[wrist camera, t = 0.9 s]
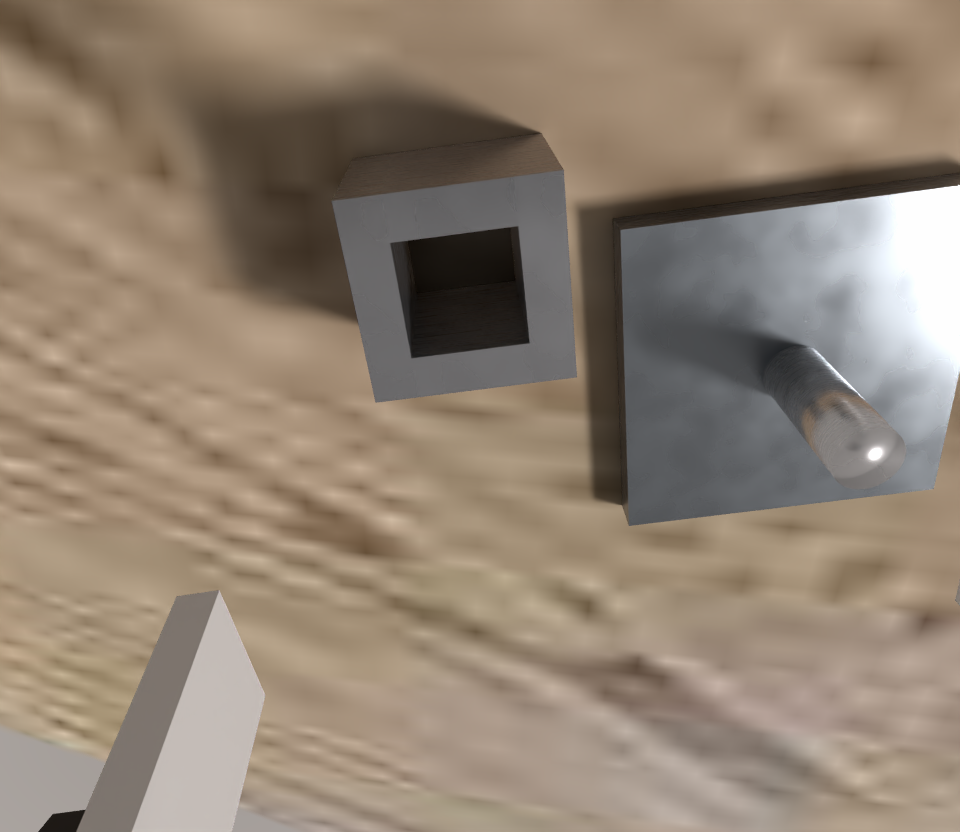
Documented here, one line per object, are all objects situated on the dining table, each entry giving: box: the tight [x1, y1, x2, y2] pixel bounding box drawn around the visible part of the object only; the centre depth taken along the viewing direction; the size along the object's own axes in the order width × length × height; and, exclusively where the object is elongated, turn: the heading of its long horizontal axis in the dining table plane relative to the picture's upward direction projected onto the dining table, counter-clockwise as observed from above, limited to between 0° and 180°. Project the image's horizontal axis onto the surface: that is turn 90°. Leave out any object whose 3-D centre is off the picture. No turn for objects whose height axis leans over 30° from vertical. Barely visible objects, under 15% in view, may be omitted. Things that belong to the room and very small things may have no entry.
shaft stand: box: [613, 173, 960, 526], centre depth 30 cm, size 14×14×8 cm
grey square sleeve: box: [332, 133, 577, 402], centre depth 27 cm, size 7×7×6 cm
